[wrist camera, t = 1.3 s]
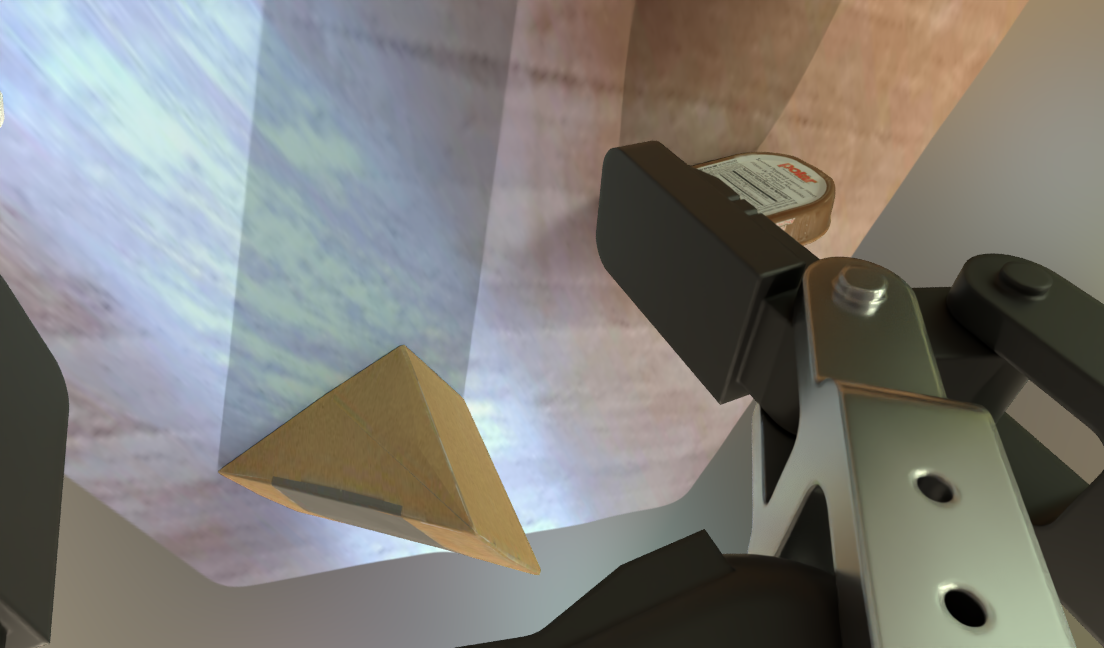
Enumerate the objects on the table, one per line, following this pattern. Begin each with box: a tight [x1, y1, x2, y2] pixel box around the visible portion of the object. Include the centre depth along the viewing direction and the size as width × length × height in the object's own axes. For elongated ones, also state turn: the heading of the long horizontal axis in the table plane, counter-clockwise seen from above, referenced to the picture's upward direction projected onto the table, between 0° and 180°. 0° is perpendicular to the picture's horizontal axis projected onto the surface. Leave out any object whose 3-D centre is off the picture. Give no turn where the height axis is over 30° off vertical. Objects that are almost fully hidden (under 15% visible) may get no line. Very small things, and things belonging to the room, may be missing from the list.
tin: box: [692, 152, 835, 246], centre depth 42 cm, size 15×3×8 cm, turn 91°
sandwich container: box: [218, 345, 541, 575], centre depth 42 cm, size 9×15×15 cm, turn 115°
